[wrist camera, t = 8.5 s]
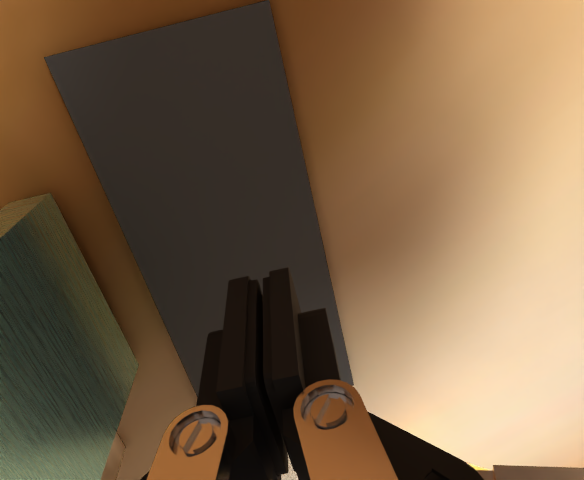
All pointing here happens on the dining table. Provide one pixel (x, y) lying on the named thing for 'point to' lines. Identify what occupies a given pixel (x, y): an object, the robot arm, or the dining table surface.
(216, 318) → the mat
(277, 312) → the robot arm
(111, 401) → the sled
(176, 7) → the dining table surface
